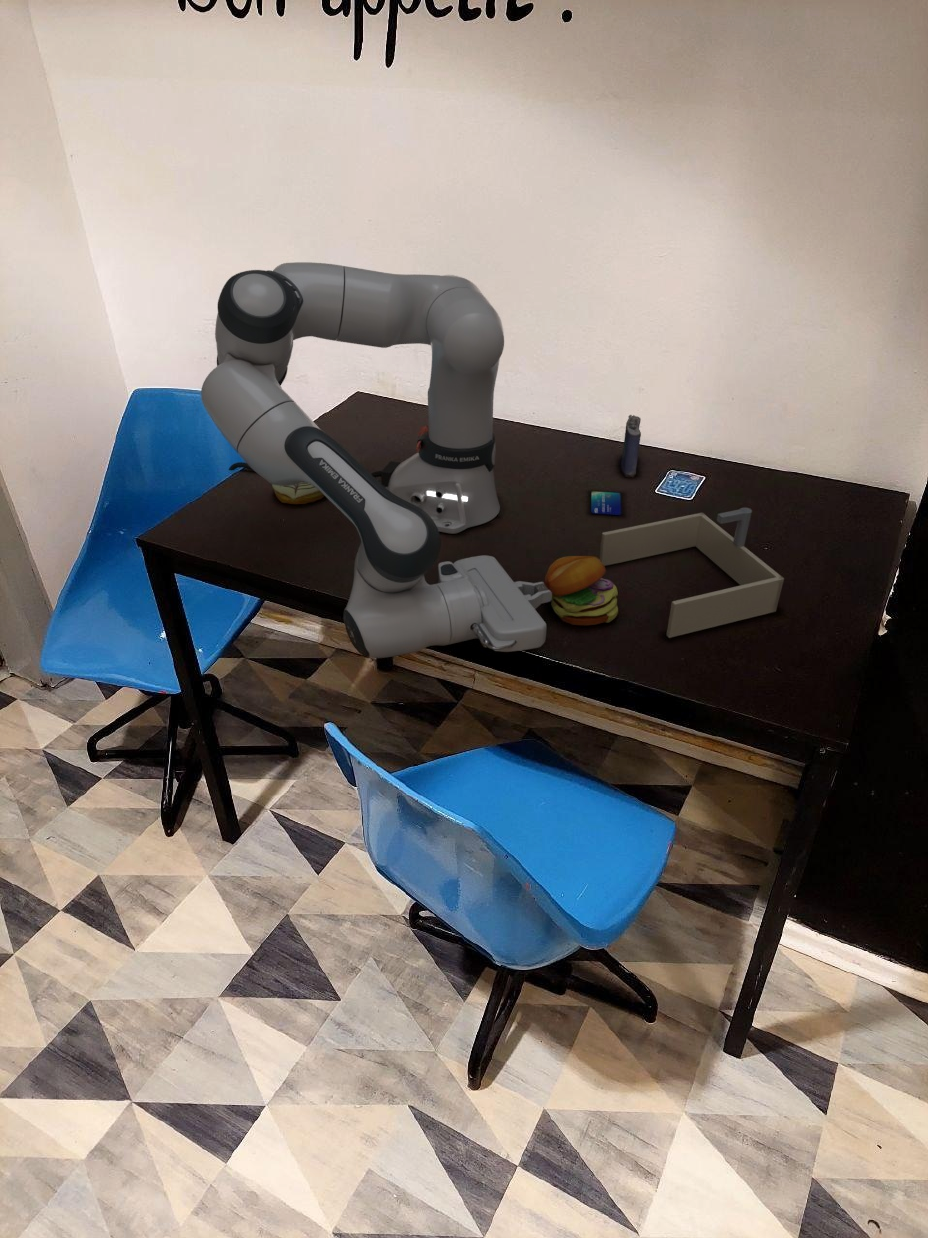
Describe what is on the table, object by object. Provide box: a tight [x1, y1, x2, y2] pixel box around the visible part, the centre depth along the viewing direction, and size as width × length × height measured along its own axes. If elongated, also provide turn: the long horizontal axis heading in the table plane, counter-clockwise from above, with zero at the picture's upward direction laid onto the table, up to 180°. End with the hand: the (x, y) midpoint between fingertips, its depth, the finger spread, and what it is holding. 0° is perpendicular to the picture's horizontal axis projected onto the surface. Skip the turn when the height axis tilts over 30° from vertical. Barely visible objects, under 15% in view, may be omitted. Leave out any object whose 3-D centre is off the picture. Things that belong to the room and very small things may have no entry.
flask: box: [620, 414, 642, 478], centre depth 171 cm, size 9×3×11 cm, turn 172°
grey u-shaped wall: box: [598, 507, 785, 639], centre depth 136 cm, size 19×22×12 cm
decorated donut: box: [271, 482, 326, 505], centre depth 164 cm, size 10×11×4 cm
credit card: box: [590, 491, 622, 516], centre depth 162 cm, size 8×5×1 cm, turn 173°
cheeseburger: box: [544, 555, 619, 626], centre depth 132 cm, size 10×11×10 cm
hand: (547, 591), depth 130 cm, fingers closed
